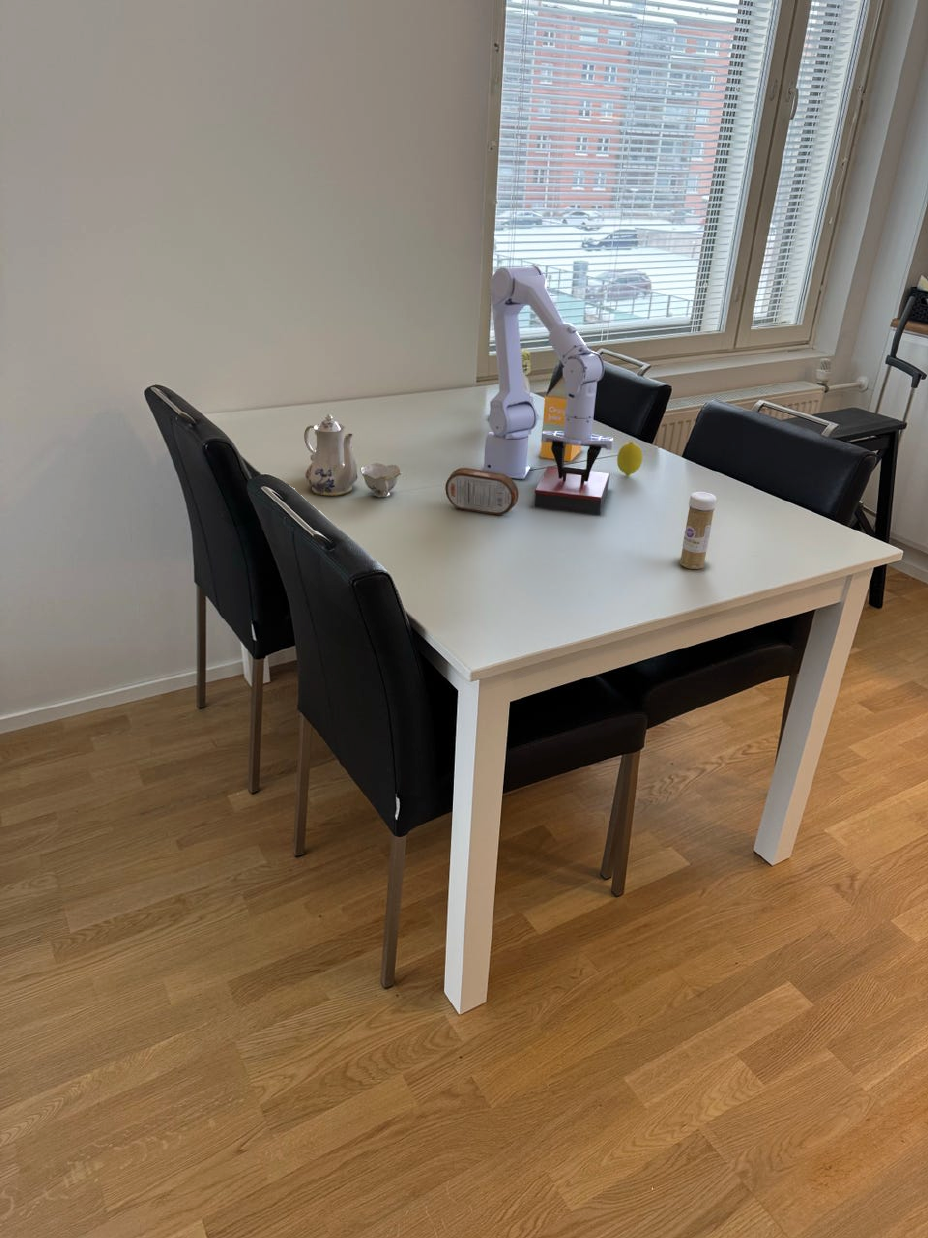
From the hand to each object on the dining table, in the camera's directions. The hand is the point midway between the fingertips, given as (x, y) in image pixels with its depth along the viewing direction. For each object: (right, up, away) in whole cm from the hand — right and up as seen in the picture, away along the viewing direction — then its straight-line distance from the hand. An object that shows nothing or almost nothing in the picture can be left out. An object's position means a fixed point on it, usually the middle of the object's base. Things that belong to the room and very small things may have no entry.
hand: (573, 478), depth 192 cm
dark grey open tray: (0, -4, +3) cm, 5 cm away
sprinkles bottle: (+19, -20, -25) cm, 37 cm away
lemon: (+14, +3, +17) cm, 23 cm away
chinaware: (-49, -1, +5) cm, 49 cm away
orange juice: (0, +10, +29) cm, 31 cm away
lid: (0, -1, +1) cm, 1 cm away
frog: (-10, +25, +55) cm, 61 cm away
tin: (-20, -8, -5) cm, 22 cm away
